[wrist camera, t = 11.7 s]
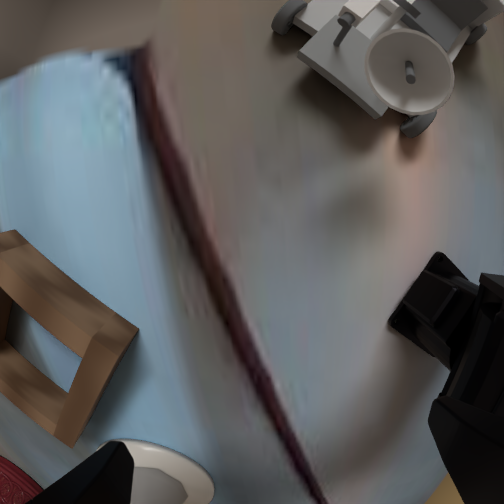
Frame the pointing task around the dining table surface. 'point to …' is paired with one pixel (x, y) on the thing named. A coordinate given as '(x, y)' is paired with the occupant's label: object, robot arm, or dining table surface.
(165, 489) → the flask
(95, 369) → the walnut collar
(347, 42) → the toy car
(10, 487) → the canister
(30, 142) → the dining table surface
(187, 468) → the ceramic plate
